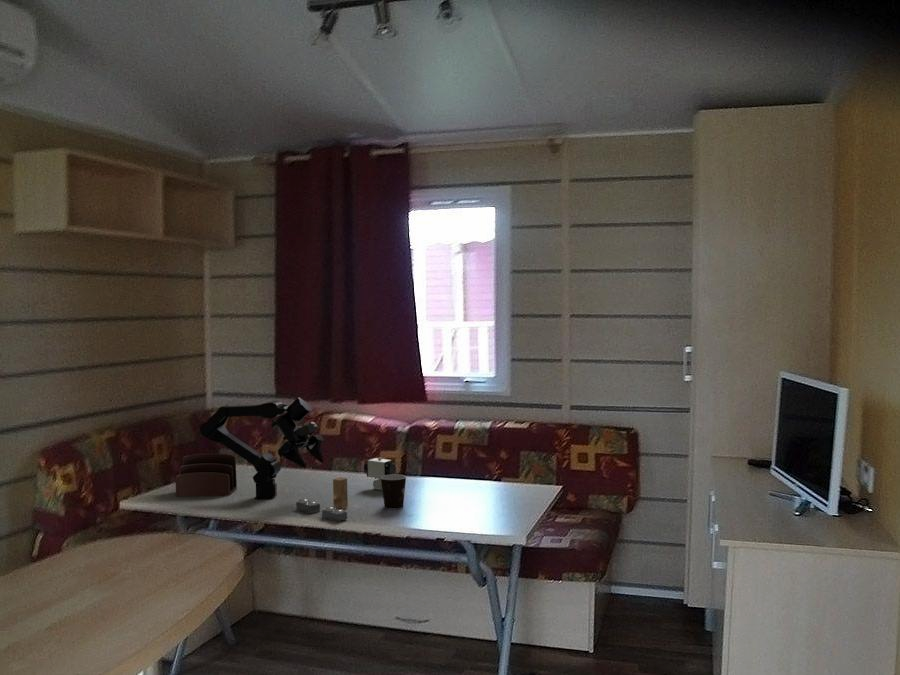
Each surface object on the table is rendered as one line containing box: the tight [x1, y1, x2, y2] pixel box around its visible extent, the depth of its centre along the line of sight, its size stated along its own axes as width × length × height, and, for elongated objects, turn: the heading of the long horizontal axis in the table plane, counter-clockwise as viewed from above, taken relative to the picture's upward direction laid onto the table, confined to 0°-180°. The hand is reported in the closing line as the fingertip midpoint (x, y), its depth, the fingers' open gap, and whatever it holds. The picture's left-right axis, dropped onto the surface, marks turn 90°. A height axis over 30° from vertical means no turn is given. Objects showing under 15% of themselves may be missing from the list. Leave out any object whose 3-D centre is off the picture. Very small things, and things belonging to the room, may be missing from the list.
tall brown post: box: [332, 477, 349, 510], centre depth 266 cm, size 4×3×10 cm
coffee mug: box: [381, 473, 407, 509], centre depth 266 cm, size 12×9×10 cm
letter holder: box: [175, 452, 238, 497], centre depth 291 cm, size 10×20×14 cm, turn 90°
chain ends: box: [295, 498, 348, 523], centre depth 259 cm, size 23×4×3 cm, turn 44°
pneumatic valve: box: [363, 456, 397, 491], centre depth 293 cm, size 6×12×12 cm, turn 59°
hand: (314, 464), depth 274 cm, fingers open, 9 cm apart
